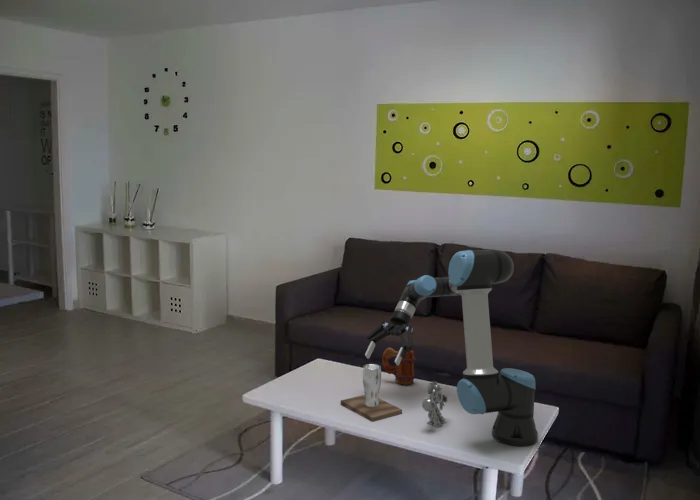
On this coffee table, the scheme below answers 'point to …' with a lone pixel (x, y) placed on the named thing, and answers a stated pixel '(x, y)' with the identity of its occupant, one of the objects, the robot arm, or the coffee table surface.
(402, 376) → the mug
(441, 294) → the robot arm
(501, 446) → the coffee table surface
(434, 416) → the robot toy
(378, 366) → the beer glass
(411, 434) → the coffee table surface
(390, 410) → the serving board
